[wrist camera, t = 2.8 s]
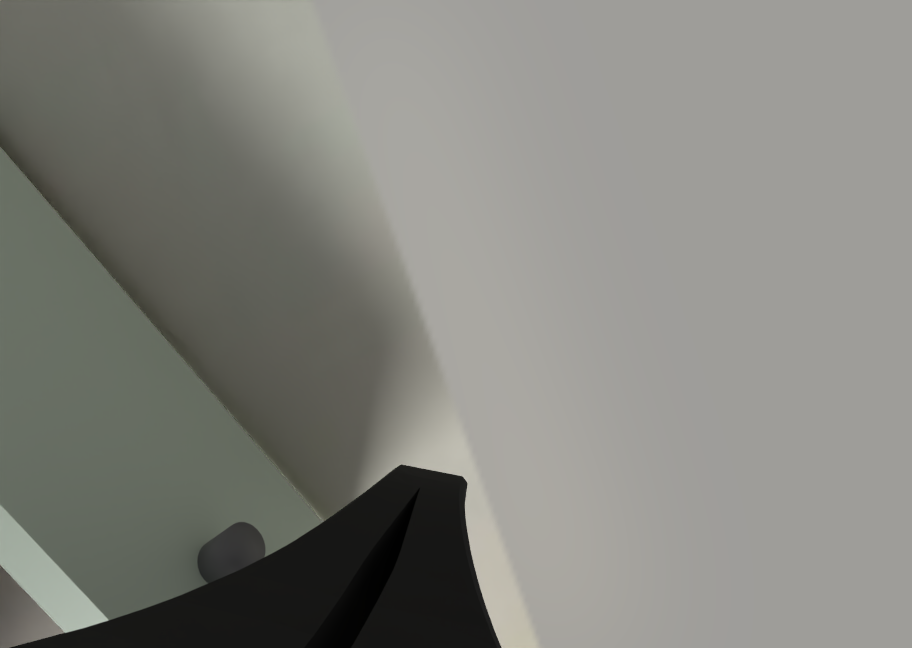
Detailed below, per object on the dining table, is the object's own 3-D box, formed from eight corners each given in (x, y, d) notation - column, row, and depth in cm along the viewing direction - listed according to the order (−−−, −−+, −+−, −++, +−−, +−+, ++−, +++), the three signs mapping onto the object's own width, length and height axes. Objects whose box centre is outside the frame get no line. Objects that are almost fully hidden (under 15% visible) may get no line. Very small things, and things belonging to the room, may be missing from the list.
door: (-114, 70, 13) (-538, 4, 8) (-75, 12, 13) (-505, -97, 8) (312, 557, 15) (184, 760, 10) (362, 526, 15) (254, 724, 9)
